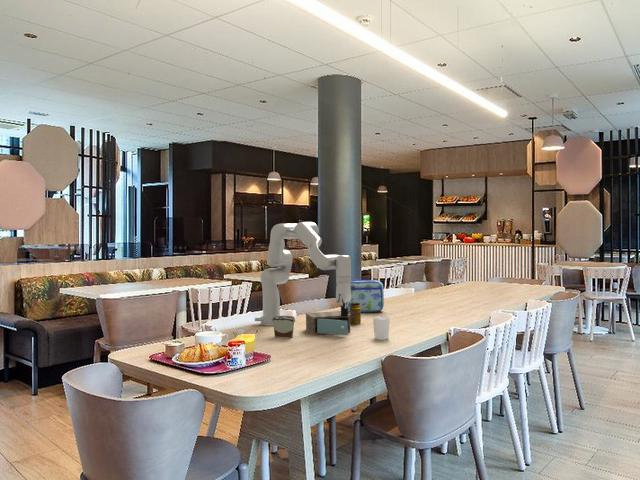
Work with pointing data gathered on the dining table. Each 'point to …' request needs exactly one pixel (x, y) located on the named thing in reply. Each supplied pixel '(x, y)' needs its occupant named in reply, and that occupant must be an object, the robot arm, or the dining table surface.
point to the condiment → (355, 314)
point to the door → (332, 326)
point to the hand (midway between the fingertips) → (344, 316)
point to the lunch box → (367, 295)
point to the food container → (283, 326)
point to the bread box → (312, 318)
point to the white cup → (381, 328)
